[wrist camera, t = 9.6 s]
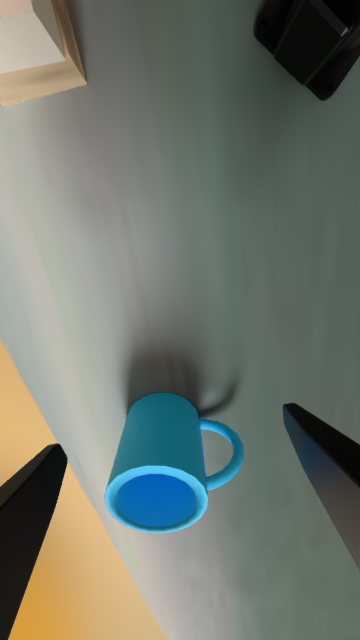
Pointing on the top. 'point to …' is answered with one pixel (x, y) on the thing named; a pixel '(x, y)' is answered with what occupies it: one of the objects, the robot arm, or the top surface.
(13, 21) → the slab upper
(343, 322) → the top surface
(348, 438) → the robot arm
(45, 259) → the top surface
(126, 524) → the mug
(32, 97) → the slab lower
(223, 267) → the top surface
